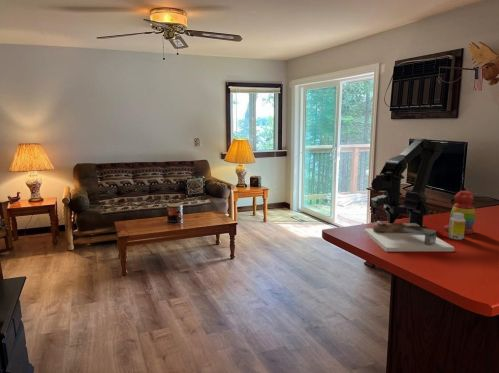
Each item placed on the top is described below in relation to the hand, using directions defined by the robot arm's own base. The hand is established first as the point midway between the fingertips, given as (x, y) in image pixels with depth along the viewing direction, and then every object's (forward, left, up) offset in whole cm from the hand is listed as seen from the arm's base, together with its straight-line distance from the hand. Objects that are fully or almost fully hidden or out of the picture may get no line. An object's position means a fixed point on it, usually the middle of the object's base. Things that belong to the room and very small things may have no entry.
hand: (390, 225), depth 158 cm
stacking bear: (0, +31, -3) cm, 31 cm away
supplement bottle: (+10, +23, -3) cm, 25 cm away
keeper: (+19, +4, -1) cm, 19 cm away
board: (+14, +1, -2) cm, 14 cm away
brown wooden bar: (+6, 0, 0) cm, 6 cm away
